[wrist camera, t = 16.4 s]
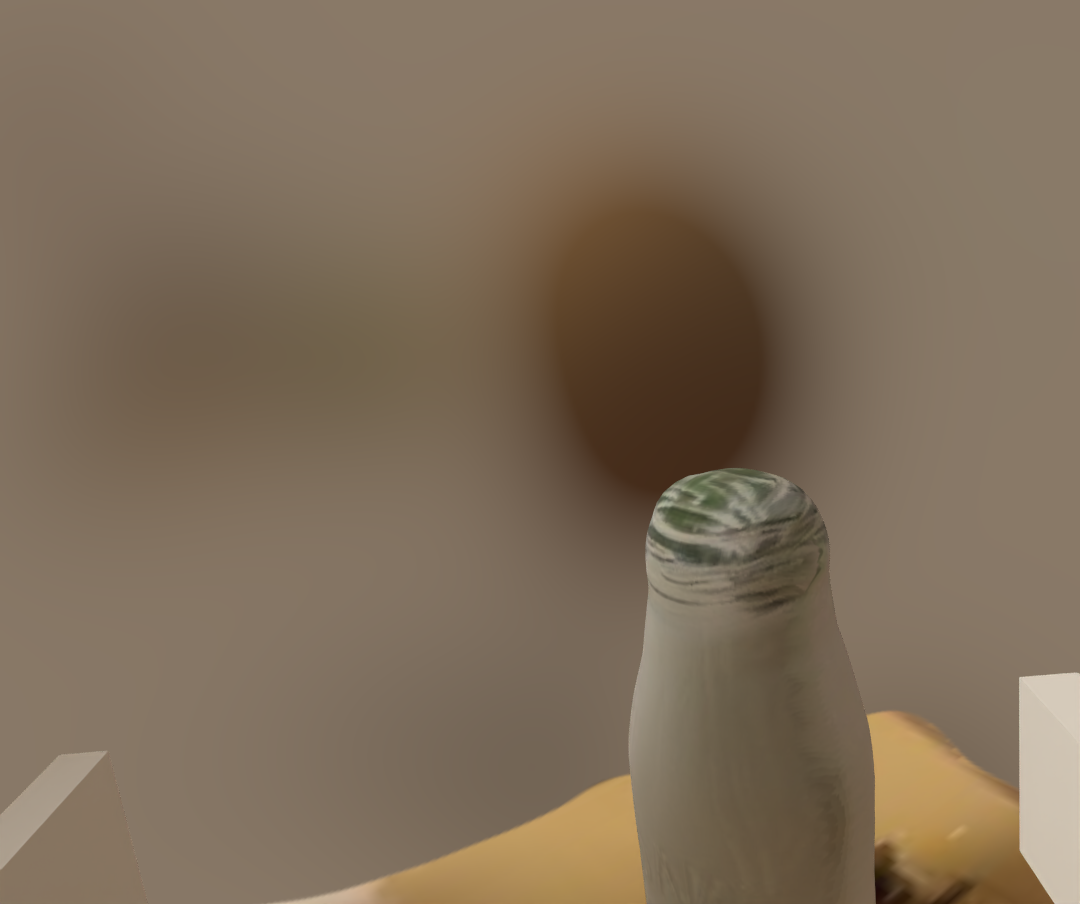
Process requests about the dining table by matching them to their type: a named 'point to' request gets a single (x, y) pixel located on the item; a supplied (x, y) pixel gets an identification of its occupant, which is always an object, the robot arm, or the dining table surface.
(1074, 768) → the robot arm
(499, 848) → the dining table surface
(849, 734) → the glass bottle
